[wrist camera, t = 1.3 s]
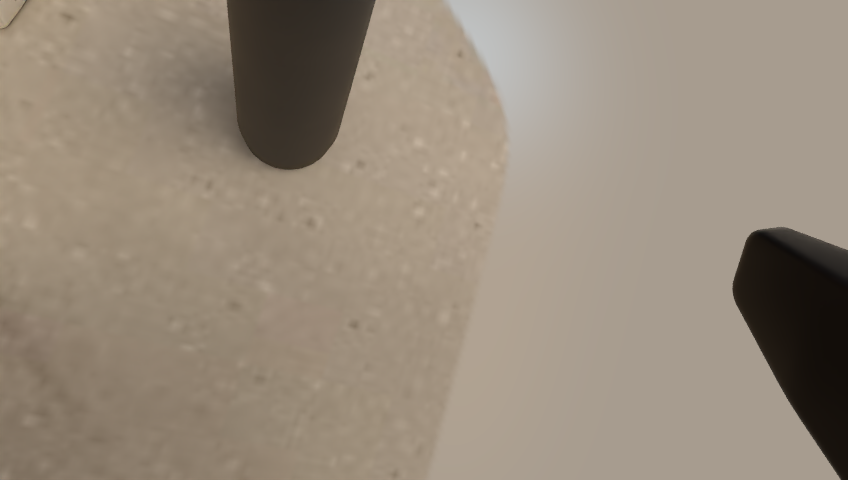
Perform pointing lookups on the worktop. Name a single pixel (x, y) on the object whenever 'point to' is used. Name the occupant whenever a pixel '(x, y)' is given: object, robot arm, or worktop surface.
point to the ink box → (9, 11)
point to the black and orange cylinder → (294, 73)
